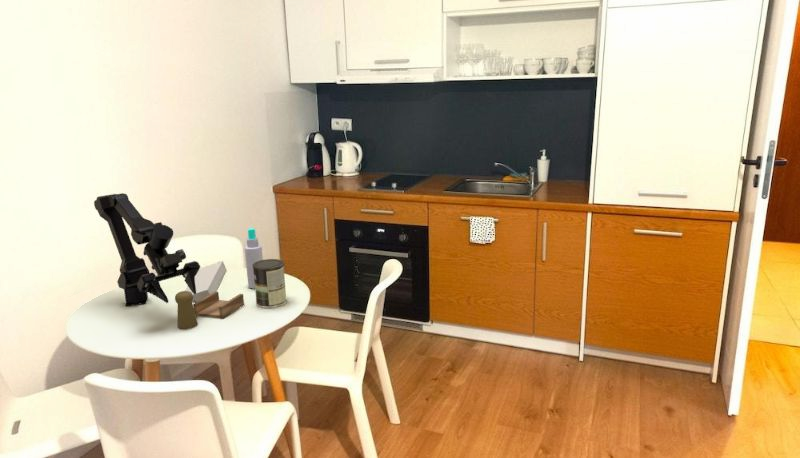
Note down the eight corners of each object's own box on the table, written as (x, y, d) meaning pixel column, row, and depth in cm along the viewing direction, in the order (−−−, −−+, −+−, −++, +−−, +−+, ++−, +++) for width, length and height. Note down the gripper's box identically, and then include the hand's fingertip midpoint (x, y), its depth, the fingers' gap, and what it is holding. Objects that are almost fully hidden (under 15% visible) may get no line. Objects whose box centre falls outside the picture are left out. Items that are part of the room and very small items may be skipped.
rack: (194, 315, 183) (192, 304, 182) (216, 302, 194) (215, 291, 193) (223, 318, 180) (222, 307, 179) (244, 305, 191) (243, 294, 190)
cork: (177, 323, 178) (172, 290, 175) (197, 320, 180) (193, 287, 177) (177, 330, 172) (172, 297, 169) (198, 327, 174) (193, 294, 171)
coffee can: (253, 309, 187) (249, 268, 184) (259, 298, 197) (255, 259, 194) (284, 307, 188) (281, 267, 185) (288, 296, 198) (285, 258, 195)
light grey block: (184, 311, 195) (212, 301, 196) (179, 299, 194) (207, 289, 195) (203, 279, 228) (227, 271, 229) (198, 268, 227) (222, 260, 227)
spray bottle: (258, 282, 213) (253, 226, 208) (268, 285, 209) (263, 228, 204) (245, 287, 209) (239, 229, 203) (254, 290, 205) (249, 231, 200)
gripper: (136, 250, 167) (159, 292, 163) (193, 236, 181) (216, 275, 176) (127, 270, 174) (150, 312, 169) (184, 256, 188) (205, 294, 183)
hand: (181, 297), depth 174 cm, fingers open, 9 cm apart
